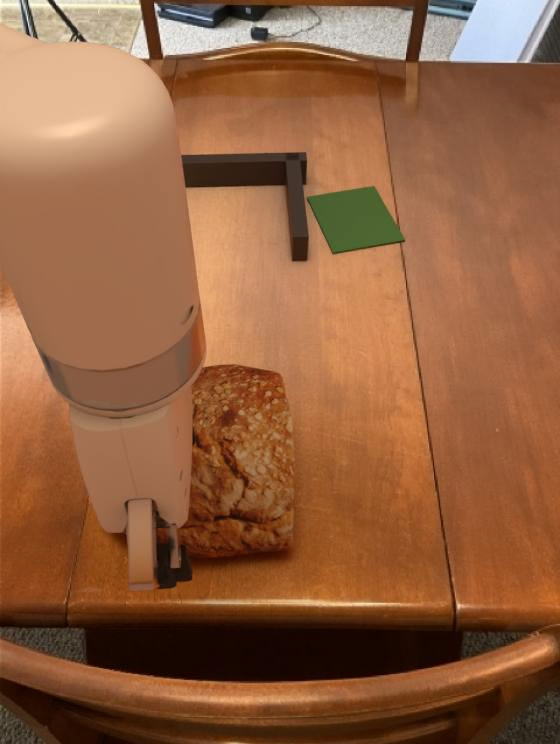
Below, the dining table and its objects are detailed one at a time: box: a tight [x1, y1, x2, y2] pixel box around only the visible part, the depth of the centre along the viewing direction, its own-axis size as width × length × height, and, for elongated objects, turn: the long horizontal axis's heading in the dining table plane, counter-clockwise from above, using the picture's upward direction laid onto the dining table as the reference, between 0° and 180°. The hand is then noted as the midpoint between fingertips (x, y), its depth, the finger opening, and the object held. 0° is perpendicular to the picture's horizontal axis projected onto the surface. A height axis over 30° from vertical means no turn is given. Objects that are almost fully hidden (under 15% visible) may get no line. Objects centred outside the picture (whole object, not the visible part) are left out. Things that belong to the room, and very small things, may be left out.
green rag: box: [306, 185, 406, 255], centre depth 92 cm, size 10×12×1 cm
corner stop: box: [181, 151, 310, 262], centre depth 91 cm, size 26×18×4 cm
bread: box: [121, 363, 296, 559], centre depth 64 cm, size 20×18×10 cm
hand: (170, 506), depth 45 cm, fingers open, 9 cm apart
